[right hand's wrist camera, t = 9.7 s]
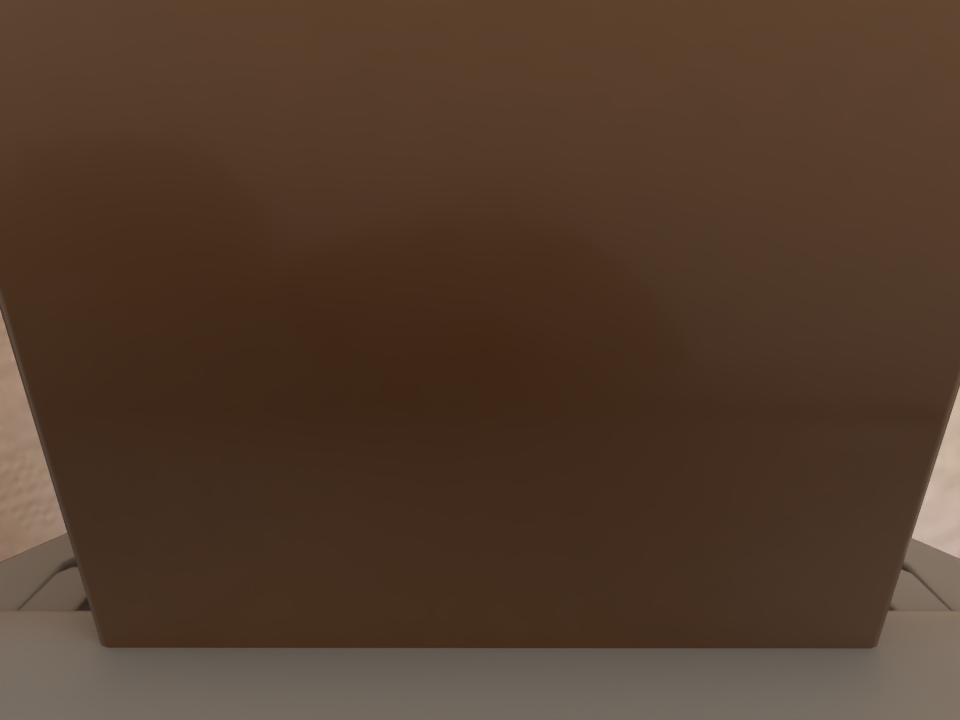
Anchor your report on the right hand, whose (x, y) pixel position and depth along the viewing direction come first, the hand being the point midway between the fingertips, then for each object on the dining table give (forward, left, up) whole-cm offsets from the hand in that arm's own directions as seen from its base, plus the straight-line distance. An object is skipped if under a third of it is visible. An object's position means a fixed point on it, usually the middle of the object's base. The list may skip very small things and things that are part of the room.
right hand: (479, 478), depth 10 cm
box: (+6, +6, -5) cm, 10 cm away
